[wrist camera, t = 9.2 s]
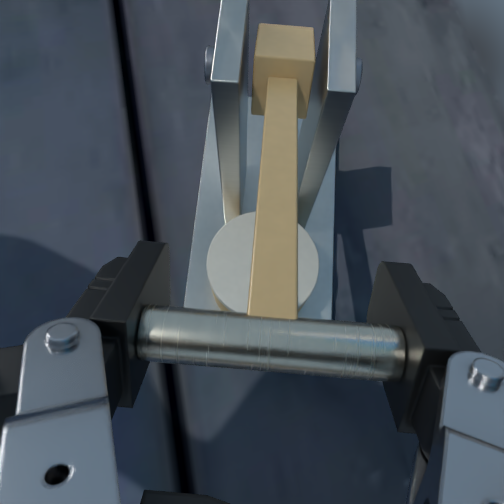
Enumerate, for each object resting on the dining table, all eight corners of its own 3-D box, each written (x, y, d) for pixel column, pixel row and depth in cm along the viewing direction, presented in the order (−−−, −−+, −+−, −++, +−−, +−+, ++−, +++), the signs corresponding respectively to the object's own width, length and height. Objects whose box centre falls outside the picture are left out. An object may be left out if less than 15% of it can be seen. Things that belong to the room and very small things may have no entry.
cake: (191, 275, 27) (183, 255, 23) (265, 217, 28) (268, 190, 24) (254, 351, 26) (256, 343, 22) (328, 287, 27) (342, 269, 23)
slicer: (328, 330, 27) (422, 260, 13) (184, 318, 27) (121, 234, 13) (334, 112, 32) (406, -110, 18) (212, 102, 32) (189, -127, 18)
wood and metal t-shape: (384, 402, 10) (421, 352, 8) (144, 381, 10) (126, 327, 8) (343, 86, 19) (355, 30, 17) (217, 76, 19) (217, 18, 17)
